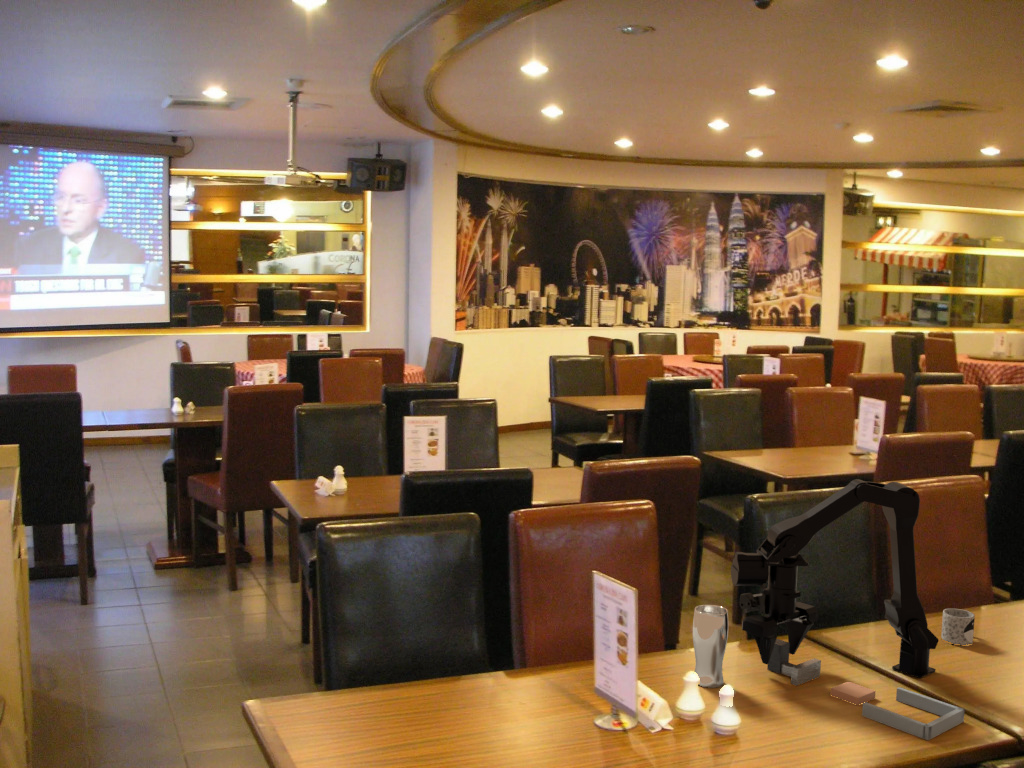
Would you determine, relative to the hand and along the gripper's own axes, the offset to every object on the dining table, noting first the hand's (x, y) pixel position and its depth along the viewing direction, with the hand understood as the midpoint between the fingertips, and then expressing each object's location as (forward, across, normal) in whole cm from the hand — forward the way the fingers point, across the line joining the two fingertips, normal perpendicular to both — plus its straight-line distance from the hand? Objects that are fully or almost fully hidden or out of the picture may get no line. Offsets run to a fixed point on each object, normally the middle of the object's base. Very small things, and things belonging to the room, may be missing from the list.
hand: (778, 658), depth 215 cm
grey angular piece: (+3, 0, +3) cm, 4 cm away
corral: (+2, 0, +30) cm, 30 cm away
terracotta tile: (+3, 0, +18) cm, 18 cm away
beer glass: (+3, +17, -5) cm, 18 cm away
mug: (+3, -50, +14) cm, 52 cm away
